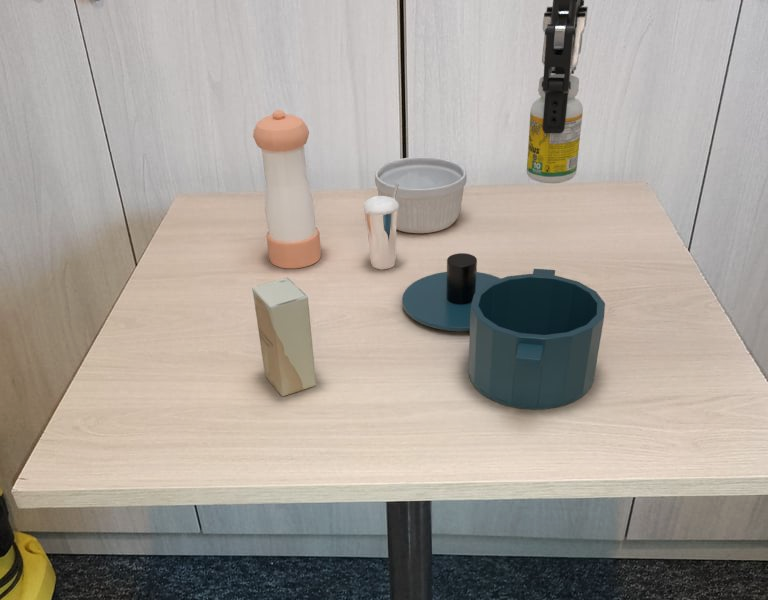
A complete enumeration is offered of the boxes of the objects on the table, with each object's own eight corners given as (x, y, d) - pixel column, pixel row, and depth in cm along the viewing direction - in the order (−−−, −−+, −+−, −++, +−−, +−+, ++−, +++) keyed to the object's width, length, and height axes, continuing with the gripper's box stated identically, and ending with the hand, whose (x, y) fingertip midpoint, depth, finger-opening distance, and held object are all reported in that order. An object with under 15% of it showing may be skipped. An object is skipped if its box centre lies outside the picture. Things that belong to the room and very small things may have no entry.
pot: (596, 335, 95) (607, 267, 89) (589, 431, 82) (601, 358, 76) (481, 325, 98) (484, 259, 92) (456, 417, 84) (458, 346, 78)
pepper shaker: (262, 252, 115) (241, 107, 102) (310, 241, 117) (296, 98, 104) (279, 273, 110) (259, 123, 97) (328, 261, 112) (316, 113, 99)
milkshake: (411, 261, 111) (410, 188, 104) (383, 275, 108) (380, 201, 102) (387, 251, 113) (385, 179, 107) (360, 265, 111) (355, 191, 104)
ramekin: (460, 199, 126) (461, 153, 121) (469, 235, 116) (471, 187, 112) (375, 204, 126) (373, 158, 121) (377, 240, 116) (375, 191, 112)
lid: (524, 282, 105) (528, 237, 101) (512, 340, 95) (516, 293, 91) (415, 274, 108) (414, 230, 104) (391, 330, 98) (389, 283, 94)
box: (264, 375, 91) (249, 285, 84) (298, 364, 93) (287, 274, 85) (283, 398, 88) (269, 306, 80) (318, 386, 89) (308, 294, 82)
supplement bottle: (581, 182, 87) (592, 84, 80) (531, 186, 87) (539, 88, 80) (568, 164, 91) (578, 70, 84) (521, 168, 90) (527, 73, 84)
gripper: (613, -63, 68) (588, 147, 79) (619, -87, 78) (596, 103, 89) (523, -62, 69) (511, 145, 81) (540, -85, 79) (527, 101, 91)
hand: (555, 122), depth 85 cm, fingers closed on supplement bottle, 5 cm apart
